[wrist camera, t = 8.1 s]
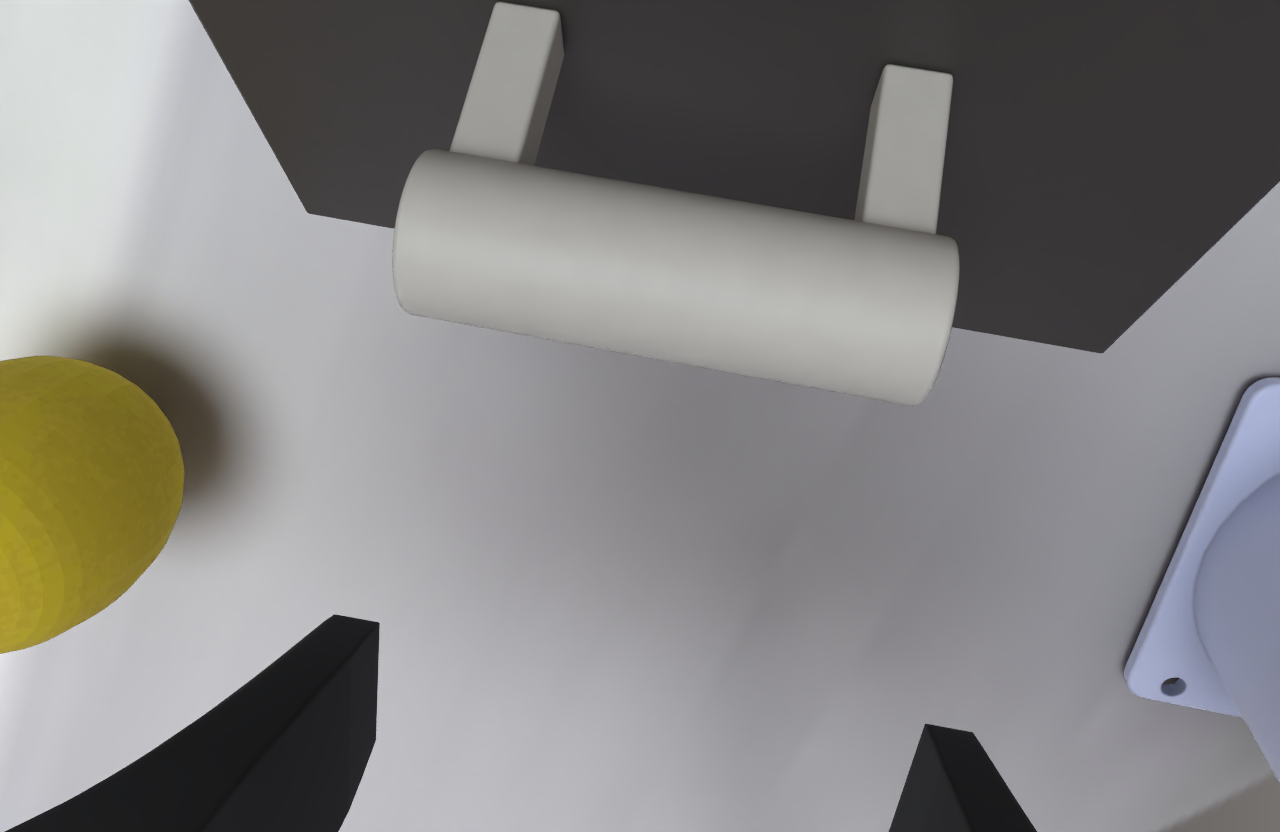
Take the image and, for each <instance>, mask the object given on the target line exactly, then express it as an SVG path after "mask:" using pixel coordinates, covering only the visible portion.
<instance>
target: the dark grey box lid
mask: <svg viewBox="0 0 1280 832" xmlns="http://www.w3.org/2000/svg"><path fill="white" fill-rule="evenodd" d="M189 2H190V3H191V5H192V7H193V9H194V11H195V12H196V14H197V16H198V18H199V20H200V21H201V23H202V25H203V27H204V29H205V30H206V32H207V34H208V36H209V37H210V39H211V41H212V43H213V45H214V46H215V48H216V50H217V52H218V54H219V55H220V57H221V59H222V61H223V63H224V64H225V66H226V68H227V70H228V71H229V73H230V75H231V77H232V79H233V80H234V82H235V84H236V86H237V88H238V89H239V91H240V93H241V95H242V97H243V98H244V100H245V102H246V104H247V105H248V107H249V109H250V111H251V113H252V114H253V116H254V118H255V120H256V122H257V123H258V125H259V127H260V129H261V131H262V132H263V134H264V136H265V138H266V139H267V141H268V143H269V145H270V147H271V148H272V150H273V152H274V154H275V156H276V157H277V159H278V161H279V163H280V165H281V166H282V168H283V170H284V172H285V173H286V175H287V177H288V179H289V181H290V182H291V184H292V186H293V188H294V190H295V191H296V193H297V195H298V197H299V199H300V200H301V202H302V204H303V206H304V207H305V209H306V211H307V212H308V213H310V214H315V215H320V216H326V217H332V218H337V219H343V220H349V221H354V222H360V223H366V224H371V225H377V226H383V227H388V228H394V229H395V230H394V239H393V259H392V263H393V279H394V287H395V292H396V296H397V299H398V302H399V304H400V306H401V307H402V309H403V310H404V311H406V312H407V313H409V314H411V315H416V316H422V317H427V318H433V319H438V320H444V321H449V322H455V323H460V324H466V325H471V326H477V327H482V328H488V329H493V330H499V331H504V332H510V333H515V334H521V335H526V336H532V337H537V338H543V339H548V340H554V341H559V342H565V343H570V344H576V345H581V346H587V347H592V348H598V349H603V350H609V351H614V352H620V353H625V354H631V355H636V356H642V357H647V358H653V359H658V360H664V361H669V362H675V363H680V364H686V365H691V366H697V367H702V368H708V369H713V370H719V371H724V372H730V373H735V374H741V375H746V376H752V377H757V378H763V379H768V380H774V381H779V382H785V383H790V384H796V385H801V386H807V387H812V388H818V389H823V390H828V391H834V392H839V393H845V394H850V395H856V396H861V397H867V398H872V399H878V400H883V401H889V402H894V403H900V404H905V405H911V406H914V405H919V404H921V403H922V402H923V401H924V400H925V399H926V397H927V396H928V394H929V392H930V391H931V389H932V387H933V385H934V383H935V380H936V378H937V376H938V373H939V370H940V367H941V365H942V362H943V358H944V355H945V352H946V348H947V344H948V341H949V337H950V332H951V328H952V327H955V328H960V329H966V330H972V331H977V332H983V333H989V334H994V335H1000V336H1006V337H1011V338H1017V339H1023V340H1028V341H1034V342H1040V343H1045V344H1051V345H1057V346H1062V347H1068V348H1074V349H1079V350H1085V351H1090V352H1096V353H1103V352H1104V351H1105V350H1107V349H1108V348H1109V347H1110V346H1111V345H1112V344H1113V343H1114V342H1115V341H1116V340H1117V339H1118V338H1119V337H1120V336H1121V335H1122V334H1123V333H1124V332H1125V331H1126V330H1127V329H1128V328H1129V327H1130V326H1131V325H1132V324H1133V323H1134V322H1135V321H1136V320H1137V319H1138V318H1139V317H1140V316H1142V315H1143V314H1144V313H1145V312H1146V311H1147V310H1148V309H1149V308H1150V307H1151V306H1152V305H1153V304H1154V303H1155V302H1156V301H1157V300H1158V299H1159V298H1160V297H1161V296H1162V295H1163V294H1164V293H1165V292H1166V291H1167V290H1168V289H1169V288H1170V287H1171V286H1172V285H1173V284H1174V283H1175V282H1177V281H1178V280H1179V279H1180V278H1181V277H1182V276H1183V275H1184V274H1185V273H1186V272H1187V271H1188V270H1189V269H1190V268H1191V267H1192V266H1193V265H1194V264H1195V263H1196V262H1197V261H1198V260H1199V259H1200V258H1201V257H1202V256H1203V255H1204V254H1205V253H1206V252H1207V251H1208V250H1209V249H1210V248H1212V247H1213V246H1214V245H1215V244H1216V243H1217V242H1218V241H1219V240H1220V239H1221V238H1222V237H1223V236H1224V235H1225V234H1226V233H1227V232H1228V231H1229V230H1230V229H1231V228H1232V227H1233V226H1234V225H1235V224H1236V223H1237V222H1238V221H1239V220H1240V219H1241V218H1242V217H1243V216H1244V215H1245V214H1246V213H1248V212H1249V211H1250V210H1251V209H1252V208H1253V207H1254V206H1255V205H1256V204H1257V203H1258V202H1259V201H1260V200H1261V199H1262V198H1263V197H1264V196H1265V195H1266V194H1267V193H1268V192H1269V191H1270V190H1271V189H1272V188H1273V187H1274V186H1275V185H1276V184H1277V183H1278V182H1279V181H1280V0H189Z"/></svg>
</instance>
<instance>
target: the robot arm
mask: <svg viewBox="0 0 1280 832" xmlns="http://www.w3.org/2000/svg"><path fill="white" fill-rule="evenodd" d="M378 654H379V623H378V622H373V621H367V620H362V619H357V618H351V617H346V616H340V615H333V616H332V617H330V618H328V619H327V620H326V621H324V622H323V623H322V624H321V625H319V626H318V627H317V628H316V629H314V630H313V631H312V632H311V633H309V634H308V635H307V636H306V637H304V638H303V639H302V640H301V641H299V642H298V643H297V644H296V645H295V646H293V647H292V648H291V649H290V650H288V651H287V652H286V653H285V654H283V655H282V656H281V657H280V658H278V659H277V660H276V661H275V662H273V663H272V664H271V665H270V666H268V667H267V668H266V669H264V670H263V671H262V672H261V673H259V674H258V675H257V676H256V677H254V678H253V679H252V680H250V681H249V682H248V683H246V684H245V685H244V686H242V687H241V688H240V689H238V690H237V691H236V692H234V693H233V694H232V695H230V696H229V697H228V698H226V699H225V700H224V701H222V702H221V703H220V704H218V705H217V706H216V707H214V708H213V709H212V710H210V711H209V712H207V713H206V714H205V715H203V716H202V717H200V718H199V719H197V720H196V721H195V722H193V723H192V724H190V725H189V726H187V727H186V728H184V729H183V730H181V731H180V732H178V733H177V734H175V735H174V736H173V737H171V738H170V739H168V740H167V741H165V742H164V743H162V744H161V745H159V746H158V747H156V748H155V749H153V750H152V751H150V752H149V753H147V754H146V755H144V756H143V757H141V758H139V759H138V760H136V761H135V762H133V763H131V764H130V765H128V766H127V767H125V768H123V769H122V770H120V771H118V772H117V773H115V774H113V775H112V776H110V777H108V778H107V779H105V780H103V781H101V782H100V783H98V784H96V785H95V786H93V787H91V788H89V789H88V790H86V791H84V792H82V793H81V794H79V795H77V796H75V797H73V798H71V799H70V800H68V801H66V802H64V803H62V804H60V805H58V806H56V807H54V808H52V809H50V810H48V811H46V812H44V813H42V814H40V815H38V816H36V817H34V818H32V819H30V820H28V821H26V822H24V823H22V824H20V825H18V826H16V827H14V828H11V829H9V830H7V831H5V832H338V831H339V829H340V827H341V825H342V823H343V821H344V819H345V817H346V815H347V813H348V811H349V809H350V807H351V804H352V801H353V799H354V796H355V794H356V791H357V789H358V786H359V784H360V781H361V779H362V776H363V773H364V771H365V768H366V765H367V762H368V760H369V757H370V754H371V752H372V749H373V746H374V744H375V741H376V716H377V685H378ZM1124 678H1125V681H1126V683H1127V685H1128V688H1129V690H1130V691H1131V692H1132V693H1133V694H1134V695H1136V696H1139V697H1142V698H1145V699H1150V700H1155V701H1160V702H1166V703H1171V704H1176V705H1181V706H1186V707H1191V708H1196V709H1201V710H1206V711H1211V712H1216V713H1221V714H1226V715H1231V716H1236V717H1241V718H1243V719H1244V720H1245V722H1246V724H1247V726H1248V728H1249V729H1250V731H1251V733H1252V735H1253V737H1254V738H1255V740H1256V742H1257V744H1258V746H1259V747H1260V749H1261V751H1262V753H1263V755H1264V756H1265V758H1266V760H1267V762H1268V764H1269V765H1270V767H1271V769H1272V771H1273V773H1274V774H1275V776H1276V778H1277V780H1278V782H1279V783H1280V378H1279V377H1268V378H1265V379H1262V380H1259V381H1256V382H1255V383H1254V384H1252V385H1251V386H1250V387H1248V389H1247V390H1246V392H1245V393H1244V395H1243V396H1242V399H1241V401H1240V403H1239V406H1238V408H1237V410H1236V412H1235V415H1234V417H1233V419H1232V422H1231V424H1230V426H1229V429H1228V431H1227V433H1226V436H1225V438H1224V440H1223V442H1222V445H1221V447H1220V449H1219V452H1218V454H1217V456H1216V459H1215V461H1214V463H1213V466H1212V468H1211V470H1210V472H1209V475H1208V477H1207V479H1206V482H1205V484H1204V486H1203V489H1202V491H1201V493H1200V496H1199V498H1198V500H1197V502H1196V505H1195V507H1194V509H1193V512H1192V514H1191V516H1190V519H1189V521H1188V523H1187V526H1186V528H1185V530H1184V532H1183V535H1182V537H1181V539H1180V542H1179V544H1178V546H1177V549H1176V551H1175V553H1174V556H1173V558H1172V560H1171V562H1170V565H1169V567H1168V569H1167V572H1166V574H1165V576H1164V579H1163V581H1162V583H1161V586H1160V588H1159V590H1158V592H1157V595H1156V597H1155V599H1154V602H1153V604H1152V606H1151V609H1150V611H1149V613H1148V616H1147V618H1146V620H1145V622H1144V625H1143V627H1142V629H1141V632H1140V634H1139V636H1138V639H1137V641H1136V643H1135V646H1134V648H1133V650H1132V652H1131V655H1130V657H1129V659H1128V662H1127V664H1126V666H1125V669H1124ZM1169 678H1179V680H1178V681H1177V682H1175V683H1173V684H1171V685H1164V684H1162V683H1163V682H1164V681H1165V680H1167V679H1169ZM889 832H1037V831H1036V829H1035V828H1034V826H1033V825H1032V823H1031V822H1030V820H1029V819H1028V817H1027V816H1026V814H1025V813H1024V811H1023V810H1022V808H1021V806H1020V805H1019V803H1018V802H1017V800H1016V799H1015V797H1014V796H1013V794H1012V793H1011V791H1010V789H1009V788H1008V786H1007V785H1006V783H1005V782H1004V780H1003V778H1002V777H1001V775H1000V774H999V772H998V771H997V769H996V767H995V766H994V764H993V763H992V761H991V760H990V758H989V756H988V755H987V753H986V752H985V750H984V749H983V747H982V746H981V744H980V743H979V741H978V740H977V738H976V737H975V735H974V734H973V732H967V731H962V730H957V729H951V728H946V727H940V726H935V725H930V724H925V726H924V729H923V732H922V735H921V738H920V741H919V744H918V747H917V750H916V753H915V756H914V759H913V762H912V765H911V768H910V771H909V773H908V776H907V779H906V782H905V785H904V788H903V791H902V794H901V797H900V800H899V803H898V806H897V809H896V812H895V815H894V818H893V821H892V824H891V827H890V830H889Z"/></svg>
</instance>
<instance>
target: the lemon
mask: <svg viewBox="0 0 1280 832" xmlns="http://www.w3.org/2000/svg"><path fill="white" fill-rule="evenodd" d="M183 487H184V464H183V459H182V454H181V449H180V445H179V442H178V439H177V437H176V435H175V433H174V430H173V428H172V426H171V424H170V422H169V420H168V419H167V417H166V416H165V415H164V413H163V412H162V411H161V409H160V408H159V407H158V405H157V404H156V403H155V401H154V400H153V399H151V398H150V397H149V396H148V395H147V394H146V393H145V392H144V391H143V390H142V389H140V388H139V387H138V386H137V385H136V384H134V383H132V382H131V381H129V380H127V379H126V378H124V377H122V376H121V375H119V374H117V373H116V372H113V371H111V370H109V369H106V368H103V367H101V366H98V365H95V364H92V363H89V362H87V361H83V360H77V359H70V358H62V357H54V356H32V357H25V358H18V359H11V360H4V361H0V654H2V653H7V652H11V651H16V650H21V649H25V648H28V647H31V646H34V645H38V644H40V643H43V642H45V641H47V640H49V639H51V638H54V637H56V636H58V635H59V634H61V633H63V632H65V631H67V630H69V629H70V628H72V627H74V626H76V625H78V624H80V623H81V622H83V621H85V620H87V619H89V618H90V617H92V616H94V615H95V614H97V613H99V612H100V611H102V610H103V609H105V608H106V607H107V606H109V605H110V604H112V603H113V602H114V601H116V600H117V599H118V598H119V597H120V596H121V595H122V594H124V593H125V592H126V591H127V590H128V589H129V588H130V587H131V586H132V585H133V584H134V583H135V581H136V580H137V579H138V578H139V577H140V576H141V575H142V574H143V573H144V571H145V570H146V569H147V568H148V567H149V566H150V565H151V564H152V562H153V561H154V560H155V559H156V557H157V556H158V555H159V553H160V552H161V550H162V549H163V547H164V545H165V544H166V542H167V540H168V538H169V536H170V533H171V531H172V529H173V526H174V524H175V521H176V519H177V516H178V514H179V511H180V508H181V504H182V500H183Z"/></svg>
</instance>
